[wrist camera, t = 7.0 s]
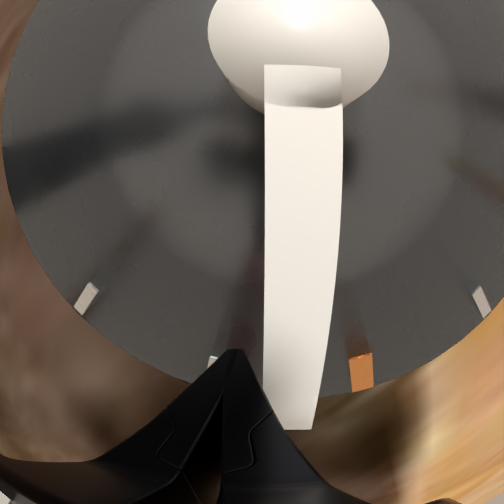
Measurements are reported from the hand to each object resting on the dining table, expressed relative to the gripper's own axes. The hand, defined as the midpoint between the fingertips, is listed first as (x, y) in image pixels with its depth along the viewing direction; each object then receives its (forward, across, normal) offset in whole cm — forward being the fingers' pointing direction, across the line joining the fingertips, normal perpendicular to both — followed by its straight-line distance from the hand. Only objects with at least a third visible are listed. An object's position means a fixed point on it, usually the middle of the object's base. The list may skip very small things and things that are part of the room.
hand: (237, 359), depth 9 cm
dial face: (+2, -2, -9) cm, 9 cm away
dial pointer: (+1, -2, -4) cm, 5 cm away
